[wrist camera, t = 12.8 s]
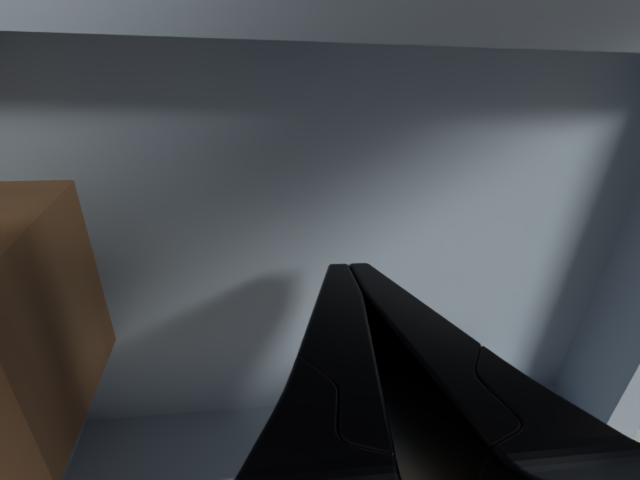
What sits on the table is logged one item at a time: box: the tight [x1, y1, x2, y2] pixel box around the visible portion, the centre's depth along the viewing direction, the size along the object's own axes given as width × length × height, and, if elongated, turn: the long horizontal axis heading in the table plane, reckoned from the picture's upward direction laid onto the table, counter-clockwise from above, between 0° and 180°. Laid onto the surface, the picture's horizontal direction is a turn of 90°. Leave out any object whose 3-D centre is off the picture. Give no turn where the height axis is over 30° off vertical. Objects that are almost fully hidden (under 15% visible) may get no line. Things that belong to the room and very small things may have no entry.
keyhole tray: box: [0, 0, 640, 480], centre depth 10 cm, size 26×13×3 cm, turn 88°
